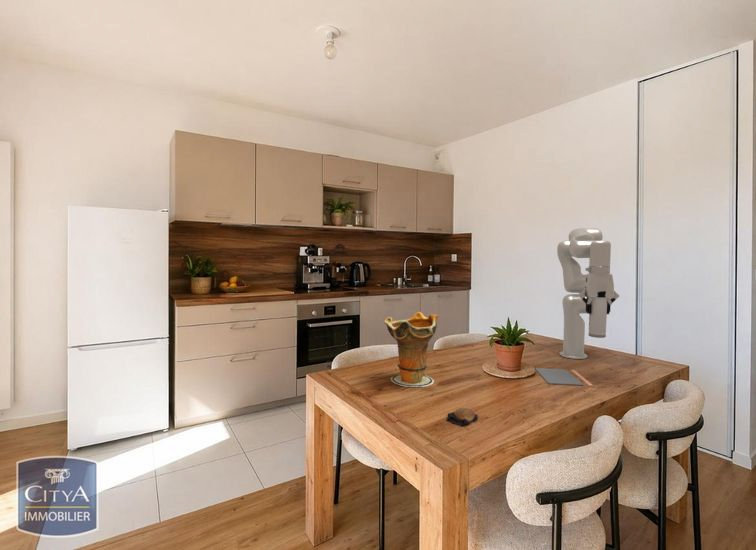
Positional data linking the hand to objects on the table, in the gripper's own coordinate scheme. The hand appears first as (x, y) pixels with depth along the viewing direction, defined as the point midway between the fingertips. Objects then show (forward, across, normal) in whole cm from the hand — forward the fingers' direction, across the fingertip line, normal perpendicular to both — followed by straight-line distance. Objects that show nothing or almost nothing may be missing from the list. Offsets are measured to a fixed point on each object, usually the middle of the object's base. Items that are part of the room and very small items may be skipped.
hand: (597, 313), depth 160 cm
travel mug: (+10, 0, 0) cm, 10 cm away
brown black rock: (+28, -58, -49) cm, 81 cm away
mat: (+27, -16, -1) cm, 31 cm away
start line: (+27, -6, -1) cm, 28 cm away
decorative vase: (+27, -76, -14) cm, 82 cm away
